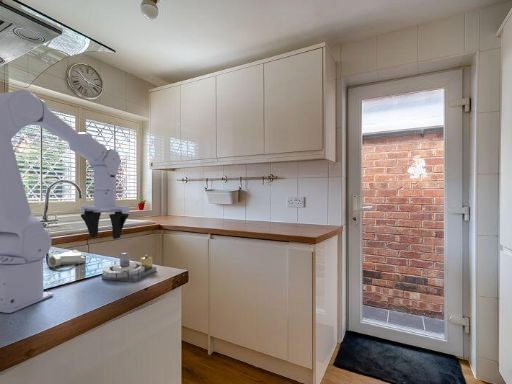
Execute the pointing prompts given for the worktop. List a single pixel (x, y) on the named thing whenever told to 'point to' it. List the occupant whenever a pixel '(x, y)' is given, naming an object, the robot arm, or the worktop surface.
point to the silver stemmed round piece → (124, 263)
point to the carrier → (130, 271)
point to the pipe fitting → (65, 258)
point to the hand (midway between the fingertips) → (105, 237)
